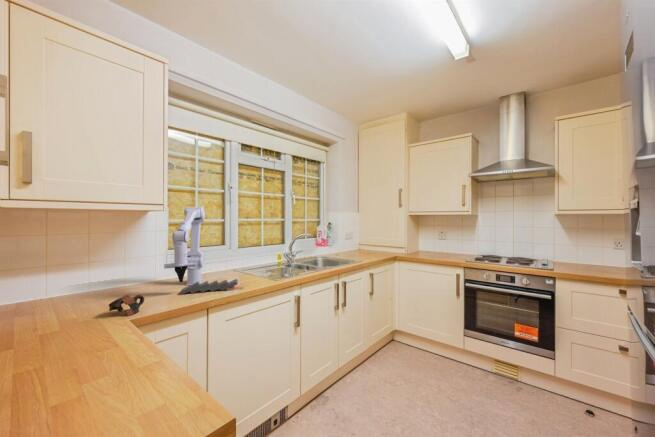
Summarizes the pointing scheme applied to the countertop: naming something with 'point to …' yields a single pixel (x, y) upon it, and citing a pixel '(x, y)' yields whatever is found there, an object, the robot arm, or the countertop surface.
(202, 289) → the domino
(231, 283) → the domino
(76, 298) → the countertop surface
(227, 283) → the domino
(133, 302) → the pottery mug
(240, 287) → the domino
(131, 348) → the countertop surface
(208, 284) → the domino
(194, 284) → the domino
